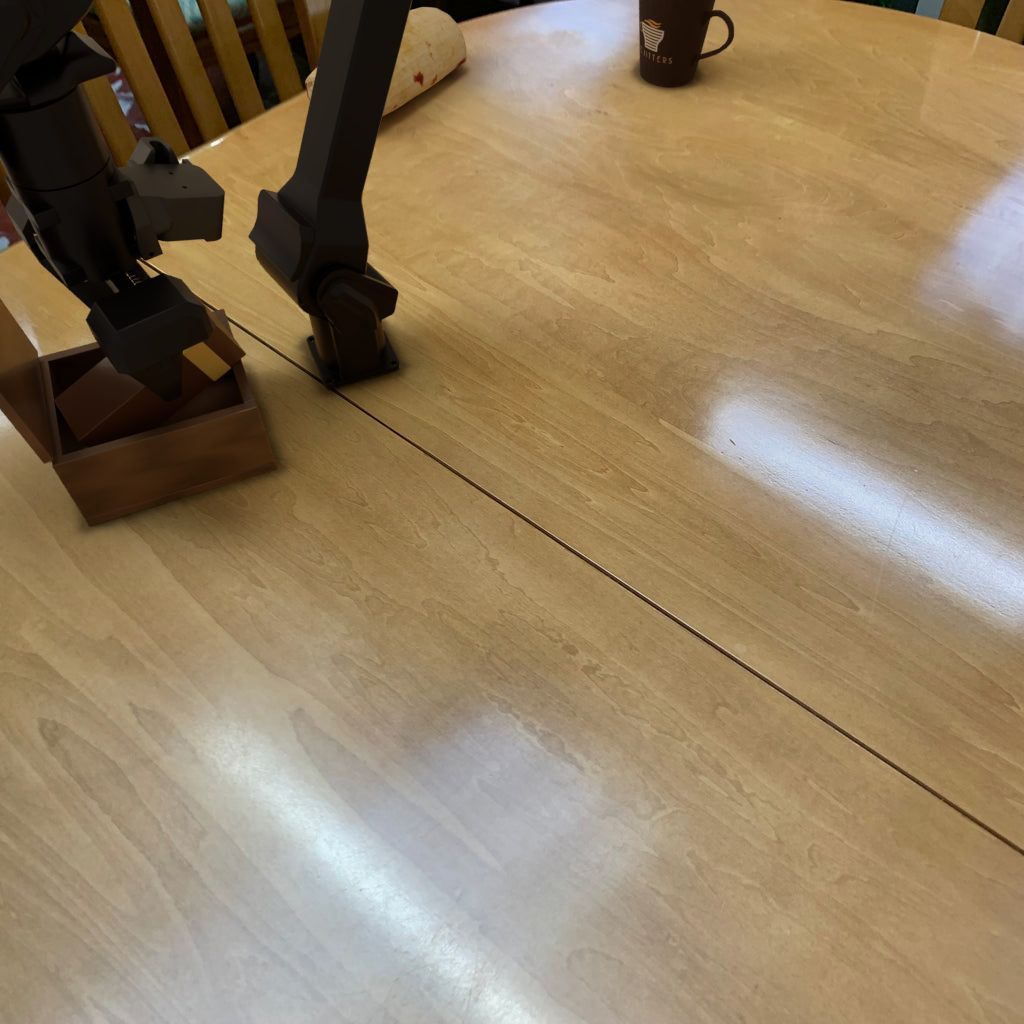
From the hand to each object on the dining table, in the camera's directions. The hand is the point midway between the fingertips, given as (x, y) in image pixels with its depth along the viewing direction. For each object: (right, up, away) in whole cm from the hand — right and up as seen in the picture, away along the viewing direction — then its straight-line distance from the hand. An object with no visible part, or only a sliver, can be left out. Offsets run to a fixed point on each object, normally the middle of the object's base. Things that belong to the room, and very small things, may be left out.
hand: (146, 361), depth 66 cm
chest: (-1, -5, +7) cm, 9 cm away
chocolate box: (-5, -5, +1) cm, 7 cm away
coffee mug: (+45, +39, +40) cm, 72 cm away
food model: (+6, +32, +31) cm, 45 cm away
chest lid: (-8, +1, -7) cm, 10 cm away
